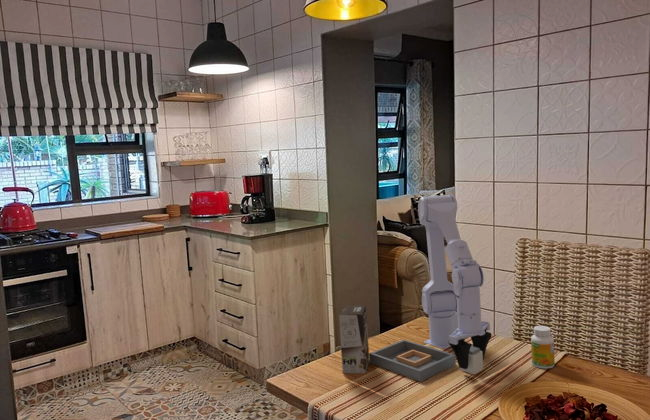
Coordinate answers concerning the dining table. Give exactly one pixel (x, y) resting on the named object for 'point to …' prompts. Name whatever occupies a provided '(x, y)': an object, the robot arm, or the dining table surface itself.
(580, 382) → the dining table surface
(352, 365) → the coffee box
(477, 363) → the plug block
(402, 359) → the inlet socket
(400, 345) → the walled box
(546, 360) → the supplement bottle
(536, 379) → the dining table surface
